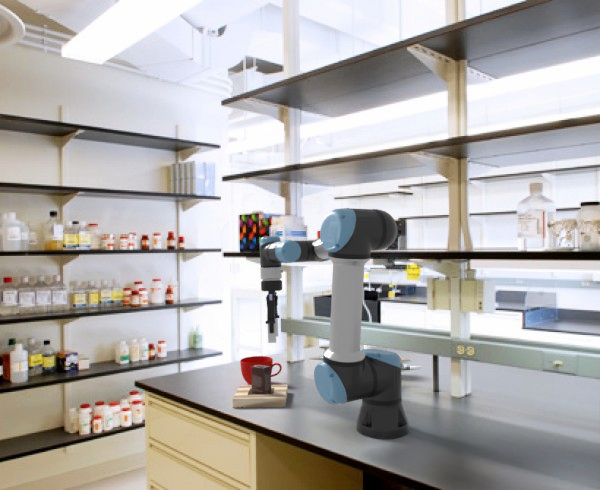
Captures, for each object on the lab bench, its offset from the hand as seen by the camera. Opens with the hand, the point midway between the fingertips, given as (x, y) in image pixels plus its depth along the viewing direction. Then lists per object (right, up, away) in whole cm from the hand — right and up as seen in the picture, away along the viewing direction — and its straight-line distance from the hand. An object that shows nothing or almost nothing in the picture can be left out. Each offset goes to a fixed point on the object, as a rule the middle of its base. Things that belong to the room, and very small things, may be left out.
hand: (273, 339), depth 176 cm
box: (-4, -22, +2) cm, 23 cm away
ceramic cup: (-6, -23, +22) cm, 32 cm away
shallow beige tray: (-4, -22, +2) cm, 23 cm away
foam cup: (+41, -21, +32) cm, 56 cm away
